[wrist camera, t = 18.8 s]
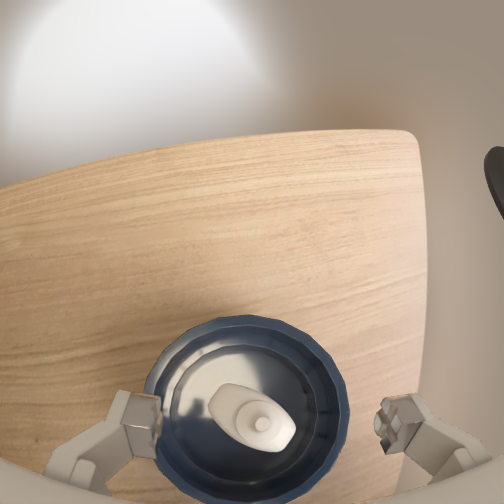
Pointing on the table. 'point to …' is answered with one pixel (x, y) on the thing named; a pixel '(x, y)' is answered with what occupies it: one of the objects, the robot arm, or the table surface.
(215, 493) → the bowl
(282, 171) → the table surface
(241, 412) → the eye dropper bottle
